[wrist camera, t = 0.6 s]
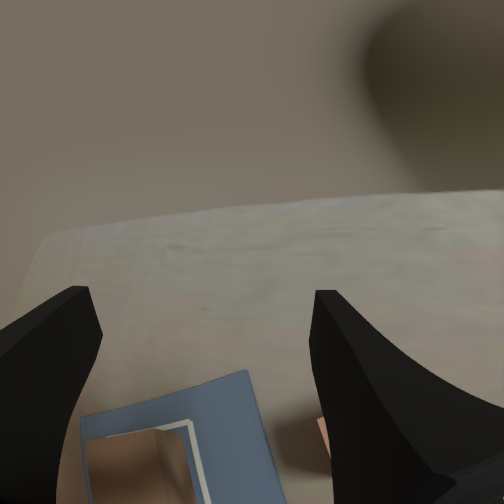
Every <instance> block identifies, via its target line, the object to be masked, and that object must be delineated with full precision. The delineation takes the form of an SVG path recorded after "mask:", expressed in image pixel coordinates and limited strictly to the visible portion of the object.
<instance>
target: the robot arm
mask: <svg viewBox="0 0 504 504" xmlns="http://www.w3.org/2000/svg"><path fill="white" fill-rule="evenodd" d="M102 337H103V333H102V330H101V327H100V324H99V321H98V318H97V315H96V312H95V309H94V305H93V302H92V299H91V295H90V292H89V288H88V286H72V287H69V288H67V289H65V290H63V291H62V292H60V293H58V294H57V295H55V296H53V297H52V298H50V299H49V300H47V301H45V302H44V303H42V304H41V305H39V306H38V307H36V308H35V309H33V310H31V311H30V312H28V313H27V314H25V315H24V316H22V317H21V318H19V319H17V320H16V321H14V322H12V323H11V324H9V325H8V326H6V327H5V328H3V329H1V330H0V504H56V488H57V478H58V470H59V463H60V458H61V453H62V448H63V443H64V439H65V435H66V431H67V427H68V424H69V420H70V418H71V415H72V412H73V409H74V407H75V405H76V403H77V400H78V398H79V396H80V393H81V391H82V389H83V387H84V384H85V382H86V380H87V378H88V376H89V373H90V371H91V369H92V367H93V364H94V362H95V360H96V357H97V354H98V350H99V347H100V344H101V340H102ZM309 348H310V357H311V365H312V371H313V375H314V379H315V384H316V388H317V392H318V396H319V400H320V404H321V408H322V412H323V416H324V420H325V424H326V429H327V434H328V440H329V448H330V457H331V467H332V479H333V493H334V504H504V500H503V497H504V408H502V407H499V406H496V405H493V404H491V403H489V402H486V401H484V400H482V399H480V398H477V397H475V396H473V395H471V394H469V393H467V392H465V391H463V390H461V389H459V388H457V387H455V386H454V385H452V384H450V383H448V382H447V381H445V380H443V379H441V378H440V377H438V376H436V375H435V374H433V373H432V372H430V371H428V370H427V369H426V368H424V367H423V366H421V365H420V364H418V363H417V362H416V361H414V360H413V359H411V358H410V357H409V356H407V355H406V354H405V353H403V352H402V351H401V350H400V349H398V348H397V347H396V346H395V345H394V344H392V343H391V342H390V341H389V340H388V339H386V338H385V337H384V336H383V335H382V334H381V333H380V332H379V331H377V330H376V329H375V328H374V327H373V326H372V325H371V324H370V323H369V322H368V321H367V320H366V319H365V318H364V317H363V316H362V315H361V314H360V313H359V312H358V311H356V310H355V309H354V308H353V307H352V306H351V305H350V304H349V303H348V301H347V300H346V299H345V298H344V297H343V296H342V295H340V294H339V293H338V292H337V291H336V290H316V293H315V301H314V308H313V316H312V323H311V330H310V337H309Z"/></svg>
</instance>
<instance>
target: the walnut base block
mask: <svg viewBox="0 0 504 504" xmlns="http://www.w3.org/2000/svg"><path fill="white" fill-rule="evenodd" d="M85 448H86V458H87V466H88V474H89V482H90V488H91V495H92V501H93V504H197V500H196V496H195V492H194V487H193V483H192V479H191V475H190V470H189V466H188V461H187V456H186V452H185V447H184V442H183V437H182V435H181V434H177V433H172V432H168V431H163V430H159V429H155V428H152V429H148V430H143V431H138V432H133V433H128V434H123V435H118V436H112V437H106V438H100V439H93V440H87V441H85Z"/></svg>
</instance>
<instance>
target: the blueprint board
mask: <svg viewBox="0 0 504 504" xmlns="http://www.w3.org/2000/svg"><path fill="white" fill-rule="evenodd" d="M80 424H81V438H82V450H83V460H84V469H85V476H86V484H87V490H88V497H89V502H90V504H93V501H92V495H91V488H90V482H89V474H88V466H87V458H86V448H85V441H87V440H93V439H100V438H106V437H112V436H118V435H123V434H128V433H133V432H138V431H143V430H148V429H152V428H155V429H159V430H163V431H168V432H172V433H177V434H181V435H182V437H183V442H184V447H185V452H186V456H187V461H188V466H189V470H190V475H191V479H192V483H193V487H194V492H195V496H196V500H197V504H287V503H286V499H285V496H284V493H283V490H282V487H281V483H280V480H279V477H278V474H277V470H276V467H275V464H274V460H273V457H272V454H271V450H270V447H269V444H268V440H267V437H266V433H265V430H264V427H263V423H262V420H261V416H260V413H259V409H258V406H257V402H256V399H255V395H254V391H253V388H252V384H251V381H250V377H249V373H248V371H247V370H246V369H245V370H243V371H240V372H237V373H234V374H231V375H229V376H226V377H223V378H220V379H217V380H214V381H211V382H208V383H205V384H202V385H199V386H196V387H193V388H190V389H187V390H183V391H180V392H177V393H174V394H170V395H167V396H164V397H160V398H157V399H153V400H150V401H146V402H142V403H139V404H135V405H131V406H127V407H123V408H119V409H115V410H111V411H107V412H103V413H99V414H94V415H90V416H85V417H80Z"/></svg>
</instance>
